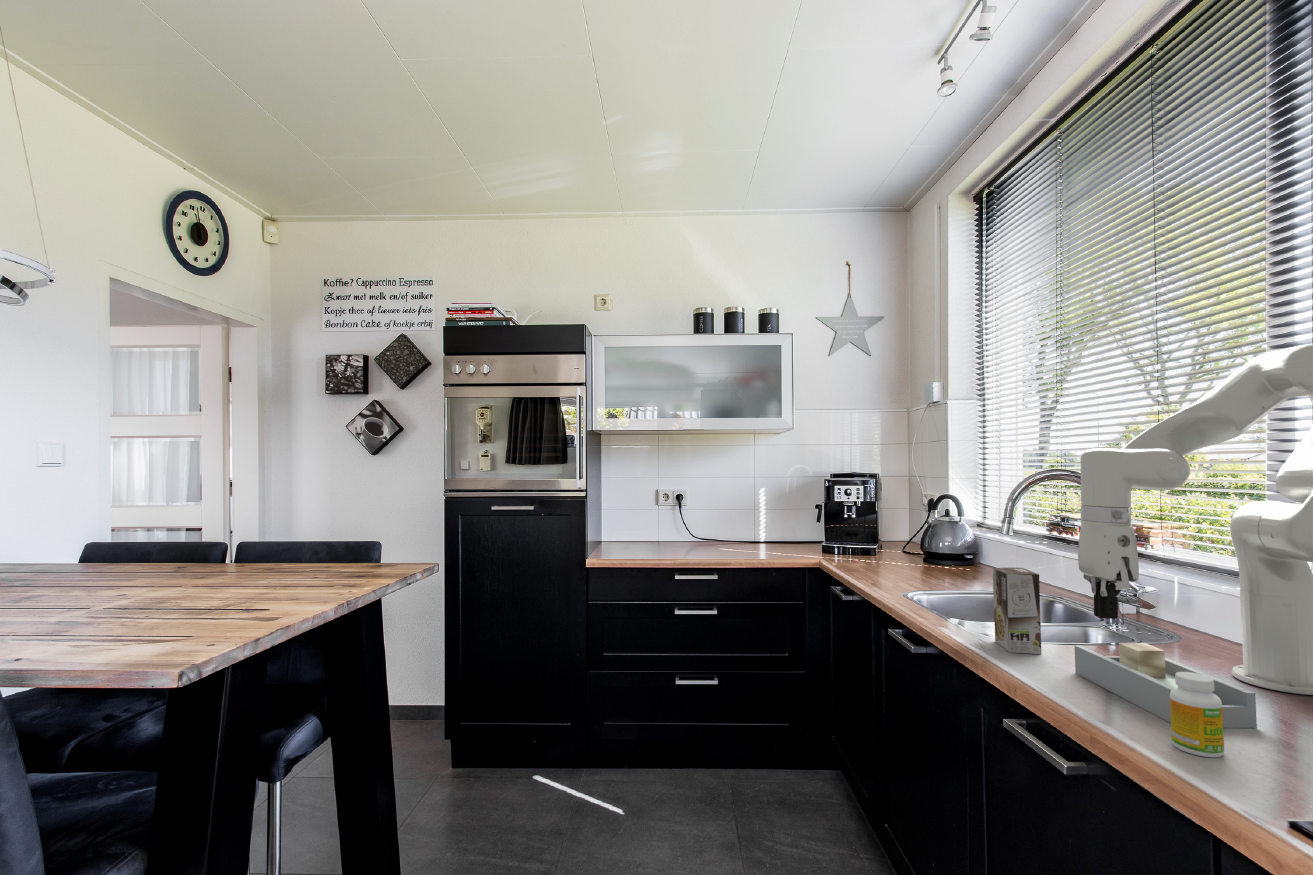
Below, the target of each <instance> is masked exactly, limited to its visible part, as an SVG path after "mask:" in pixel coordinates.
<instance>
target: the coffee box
mask: <svg viewBox="0 0 1313 875" xmlns="http://www.w3.org/2000/svg"><path fill="white" fill-rule="evenodd" d="M1040 587H1041V586H1040V574H1039V573H1037V572H1034V571H1032V570H1029V569H1027V568H1024V567H992V591H993V593H992V594H993V618H994V641H995V642H996V643H997V644H998V645H999V646H1001V647H1002V648H1003V649H1004V650H1006V651H1007V652H1008V653H1013V654H1031V655H1041V654H1042V629H1041V628H1042V627H1041V626H1042V625H1041V598H1040V597H1041V594H1040V593H1041V591H1040V590H1041V589H1040Z"/></svg>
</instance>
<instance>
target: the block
mask: <svg viewBox="0 0 1313 875" xmlns="http://www.w3.org/2000/svg"><path fill="white" fill-rule="evenodd" d="M1118 656H1119V660H1120V663H1121V664H1123V665H1126V666H1128V667H1130V668H1132V669H1135V670H1137V671H1139V672H1141V673H1143V674H1146V675H1148V676H1150V677H1152V678H1166V674H1165V657H1166V654H1165V650H1163V649H1161V648H1159V647H1156V646H1154V645H1151V644H1148V643H1147V642H1146V643H1145V642H1118Z"/></svg>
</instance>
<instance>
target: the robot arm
mask: <svg viewBox="0 0 1313 875" xmlns="http://www.w3.org/2000/svg"><path fill="white" fill-rule="evenodd" d="M1304 396H1306V397H1307V396H1308V399H1309V400H1310V402H1311V405H1313V344H1303V345H1298V346H1293V347H1287V348H1285V349H1284V348H1283V349H1279V350H1275V351H1270V352H1265V353H1263V354H1260V355H1258V356H1255V357H1253V358H1252V359H1250V360H1249V361H1247V362H1246V363H1245V364H1244V365H1242V366H1241V367H1240V368H1239V369H1237V370H1236V371H1234V372H1233V373H1232V374H1230V375H1229V376H1228V377H1227V378H1225V379H1224V380H1223V381H1222V382H1220V383H1219V384H1217V385H1216V386H1215V387H1214V388H1212V389H1211V390H1210V391H1209V392H1207V393H1206V394H1205V395H1203V396H1202V397H1201V398H1199V399H1198V400H1197V401H1195V402H1193V403H1192V404H1190V405H1188V406H1186V407H1184V408H1182V409H1181V410H1178V411H1177V412H1175V413H1173V414H1172V415H1170V416H1168V417H1166V418H1165V419H1163V420H1161V421H1159V422H1157V423H1156V424H1154V425H1153V426H1151V427H1149V428H1146V430H1144V431H1143V432H1141V433H1140V434H1138V435H1137V436H1135V437H1134V438H1133V439H1132V440H1131V441H1129V442H1128V443H1127V444H1125V445H1124V446H1123V447H1121V448H1120V449H1119V448H1091V449H1086V450H1084V451H1083V452H1082V453H1081V454H1080V523H1081V524H1080V529H1079V537H1078V549H1077V551H1078V552H1077V560H1078V562H1077V563H1078V570H1079V571H1080V572H1082V574H1083V579H1084V580H1086V581H1087V582H1088V583H1089V584H1090V588H1091V593H1092V594H1093V615H1094V617H1097V618H1100V619H1105V620H1106V619H1109V620H1110V619H1112V620H1113V619H1114V620H1115V619H1118V613H1119V612H1118V609H1119V606H1118V602H1119V601H1118V598H1119V597H1120V596H1121V592H1122V591H1127V590H1128V591H1129V590H1130V589H1131V586H1130V582H1133V583H1136V582H1137V581H1138V580H1139V579H1140V569H1139V552H1138V551H1139V550H1138V543H1137V538H1136V532H1135V529H1134V526H1133V525H1132V489H1135V490H1147V491H1169V490H1174V489H1176V488H1178V487H1180V486H1182V485H1183V484H1184V483H1185V482H1187V481H1188V479H1189V477H1190V474H1191V467H1190V466H1191V465H1190V463H1189V461H1188V460H1187V458H1185V457H1184V456H1185V455H1188V454H1189V453H1192V452H1194V451H1196V450H1199V449H1203V448H1208V447H1210V446H1211V447H1212V446H1215V445H1218V444H1221V443H1222V444H1223V443H1225V442H1226V441H1227V442H1228V441H1229V440H1231V439H1232V440H1233V439H1234V438H1236V437H1239V436H1241V435H1242V434H1244V433H1245V432H1247V431H1248V430H1249V429H1250V428H1251V427H1253V426H1254V425H1256V424H1257V423H1258V422H1260V421H1261V420H1262V419H1263V418H1264V417H1266V416H1267V415H1268V414H1270V413H1271V412H1272V411H1274V410H1275V409H1277V408H1278V407H1280V406H1281V405H1282V404H1283V403H1285V402H1286V401H1288V400H1290V399H1292V398H1296V397H1304ZM1275 487H1276V489H1277V491H1278V493H1280V495H1281V496H1283V497H1284V498H1286V499H1287V500H1290V501H1281V500H1280V501H1279V500H1278V501H1277V500H1260V501H1259V500H1258V501H1254V502H1253V501H1252V502H1249V503H1246V504H1245V505H1242V506H1240V507H1239V508H1238V509H1237V510H1236V511H1235V512H1234V513H1233V515H1232V517H1231V520H1230V525H1229V529H1230V530H1229V531H1230V536H1231V540H1232V544H1233V547H1234V551H1235V554H1236V560H1237V565H1238V574H1239V575H1238V576H1239V600H1240V617H1241V618H1240V619H1241V639H1242V640H1241V642H1242V663H1243V664H1240V665H1234V666H1233V667H1232V668H1231V674H1232V676H1234V677H1235V679H1237V680H1239V681H1241V682H1243V683H1247V684H1248V685H1249V684H1250V685H1253V686H1256V687H1258V688H1263V689H1268V690H1272V691H1278V692H1283V693H1289V694H1297V695H1307V696H1313V572H1312V569H1311V567H1310V565H1309V563H1313V425H1312V426H1311V428H1310V429H1309V431H1308V432H1307V434H1306V435H1305V437H1304V438H1303V439H1302V440H1301V442H1300V443H1299V444H1298V446H1296V448H1295V449H1294V451H1293V452H1292V453H1291V454H1290V456H1289V457H1287V459H1286V460H1285V462H1284V463H1283V465H1282V466H1281V467H1280V469H1279V471H1278V472H1277V474H1276V477H1275Z"/></svg>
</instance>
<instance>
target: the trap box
mask: <svg viewBox="0 0 1313 875" xmlns="http://www.w3.org/2000/svg"><path fill="white" fill-rule="evenodd" d="M1074 667H1075V670H1074V671H1075V672H1074V673H1075V674H1077V675H1079V676H1080V677H1083V678H1084V679H1086V680H1089V681H1090V682H1092V683H1094V684H1096V685H1097V686H1099V687H1101V688H1104V690H1107V691H1108V692H1111V693H1113V694H1115V695H1117V696H1118V697H1121V698H1122V699H1124V700H1127V702H1130V703H1132V704H1134V705H1136V706H1137V707H1140V709H1141V708H1142V709H1143V710H1145V711H1147V712H1148V713H1151V714H1153V715H1154V716H1157V717H1159V718H1161V719H1162V720H1164V721H1166V722H1168V723H1170V724H1171V711H1170V692H1171V690H1172V689H1174V688H1177V687H1178V685H1177V684H1176V682H1175V674H1176V673H1177V672H1192V673H1198V674H1202V675H1206V676H1208V677H1211V678H1212V679H1213V680H1214V691H1212V693H1213V694H1215V695H1217V696H1218V697H1219V698H1220V699H1221V701H1222V713H1223V729H1257V728H1258V723H1257V722H1258V721H1257V718H1258V717H1257V702H1256V701H1257V700H1256V699H1257V698H1256V693H1255V692H1253V691H1251V690H1249V689H1246V688H1243V687H1241V686H1238V685H1236V684H1234V683H1231V682H1229V681H1226V680H1223V679H1220V678H1218V677H1215V676H1214V675H1211V674H1209V673H1206V672H1203V671H1201V670H1198V669H1196V668H1194V667H1190V666H1188V665H1185V664H1184V663H1181V662H1178V661H1175V660H1173V659H1170V658H1168V657H1166V656H1165V674H1166V678H1152V677H1150V676H1148V675H1146V674H1143V673H1141V672H1139V671H1137V670H1135V669H1132V668H1130V667H1128V666H1126V665H1123V664H1121V663H1120V660H1119V655H1118V656H1117V655H1116V656H1115V655H1114V656H1105V655H1103V654H1101V653H1099V652H1097V651H1095V650H1093V649H1090V648H1087V647H1085V646H1083V645H1081V644H1080V645H1079V644H1075V645H1074Z"/></svg>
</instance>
